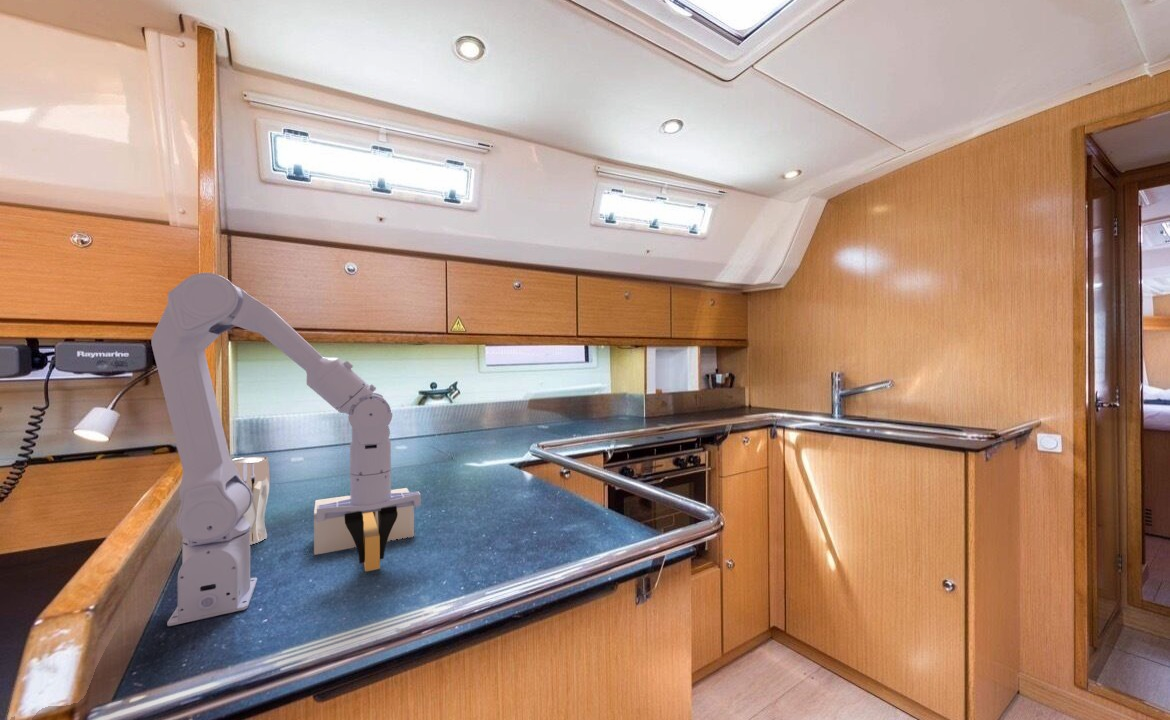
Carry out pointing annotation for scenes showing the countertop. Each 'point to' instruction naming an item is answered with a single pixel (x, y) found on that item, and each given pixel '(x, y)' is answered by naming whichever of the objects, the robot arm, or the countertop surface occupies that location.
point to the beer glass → (255, 492)
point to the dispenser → (337, 535)
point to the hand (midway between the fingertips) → (371, 558)
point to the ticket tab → (371, 542)
